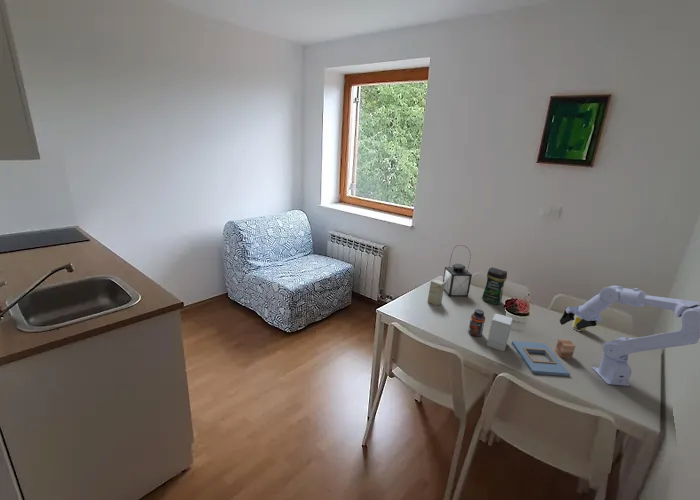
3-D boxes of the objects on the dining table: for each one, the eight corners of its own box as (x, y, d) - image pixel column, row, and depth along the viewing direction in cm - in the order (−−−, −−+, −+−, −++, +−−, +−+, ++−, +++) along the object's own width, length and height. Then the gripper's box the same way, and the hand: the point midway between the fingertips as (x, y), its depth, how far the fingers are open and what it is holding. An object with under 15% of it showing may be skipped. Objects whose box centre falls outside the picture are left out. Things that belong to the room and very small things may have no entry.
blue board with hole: (569, 376, 134) (570, 372, 134) (531, 373, 134) (532, 369, 134) (544, 345, 153) (545, 342, 153) (511, 343, 153) (512, 340, 153)
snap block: (571, 358, 145) (575, 346, 143) (560, 357, 145) (564, 345, 143) (565, 352, 149) (569, 339, 147) (554, 351, 150) (558, 339, 148)
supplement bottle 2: (586, 332, 166) (592, 314, 163) (574, 331, 167) (579, 312, 163) (582, 326, 171) (587, 308, 168) (569, 325, 172) (575, 307, 168)
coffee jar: (479, 300, 192) (486, 268, 186) (485, 295, 198) (491, 264, 192) (497, 306, 186) (504, 273, 180) (503, 301, 192) (510, 270, 186)
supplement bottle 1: (466, 334, 158) (471, 311, 155) (469, 328, 163) (473, 306, 160) (480, 338, 156) (485, 315, 152) (482, 332, 161) (487, 310, 157)
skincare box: (427, 302, 187) (430, 280, 183) (431, 299, 190) (434, 278, 186) (437, 306, 183) (441, 284, 179) (442, 303, 186) (445, 282, 182)
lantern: (468, 296, 196) (477, 248, 187) (448, 296, 194) (456, 248, 185) (459, 288, 206) (467, 242, 197) (441, 288, 205) (448, 241, 196)
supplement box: (504, 351, 147) (510, 325, 143) (486, 345, 150) (491, 319, 146) (507, 343, 153) (513, 317, 149) (489, 338, 156) (494, 312, 152)
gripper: (606, 303, 142) (581, 321, 151) (574, 294, 140) (550, 312, 150) (613, 318, 137) (586, 335, 146) (579, 308, 135) (555, 326, 145)
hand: (569, 324), depth 148 cm, fingers open, 7 cm apart
